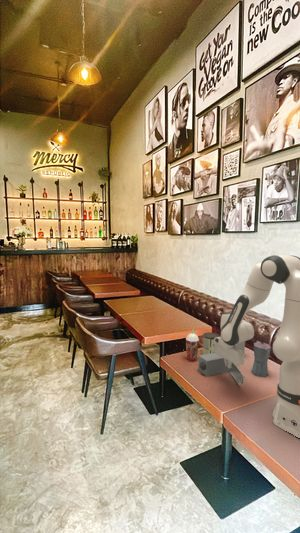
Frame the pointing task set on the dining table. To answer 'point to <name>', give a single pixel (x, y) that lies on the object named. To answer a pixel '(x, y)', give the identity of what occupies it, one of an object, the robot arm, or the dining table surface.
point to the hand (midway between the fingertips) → (228, 367)
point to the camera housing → (212, 364)
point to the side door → (237, 374)
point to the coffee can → (208, 343)
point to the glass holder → (242, 346)
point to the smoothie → (192, 346)
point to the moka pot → (261, 358)
